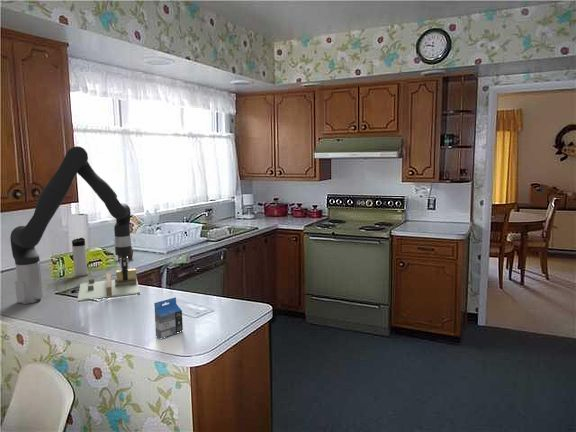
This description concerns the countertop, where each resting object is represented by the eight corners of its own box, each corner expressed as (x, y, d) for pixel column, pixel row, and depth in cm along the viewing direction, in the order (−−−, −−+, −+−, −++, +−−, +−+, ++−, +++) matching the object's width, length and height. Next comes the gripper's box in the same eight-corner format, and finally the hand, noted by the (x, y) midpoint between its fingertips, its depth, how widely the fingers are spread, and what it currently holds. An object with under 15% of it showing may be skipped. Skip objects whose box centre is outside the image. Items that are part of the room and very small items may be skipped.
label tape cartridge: (161, 339, 153) (159, 305, 151) (155, 336, 155) (153, 303, 154) (183, 332, 159) (181, 299, 157) (177, 329, 162) (175, 297, 160)
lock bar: (117, 284, 213) (116, 272, 212) (117, 282, 216) (116, 270, 215) (136, 281, 216) (135, 270, 216) (136, 280, 220) (135, 268, 219)
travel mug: (90, 274, 236) (87, 237, 233) (83, 277, 229) (80, 240, 226) (79, 274, 237) (76, 237, 234) (72, 277, 230) (69, 240, 227)
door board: (140, 294, 202) (139, 283, 201) (77, 302, 192) (76, 291, 191) (136, 279, 226) (135, 269, 225) (80, 285, 216) (79, 275, 215)
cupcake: (117, 258, 271) (116, 242, 269) (134, 257, 274) (133, 241, 272) (116, 262, 262) (115, 245, 260) (133, 260, 265) (132, 244, 263)
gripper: (132, 246, 208) (134, 282, 211) (130, 241, 221) (132, 274, 224) (115, 248, 206) (117, 284, 208) (114, 242, 218) (116, 276, 221)
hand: (125, 278), depth 216 cm, fingers closed on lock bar, 3 cm apart
